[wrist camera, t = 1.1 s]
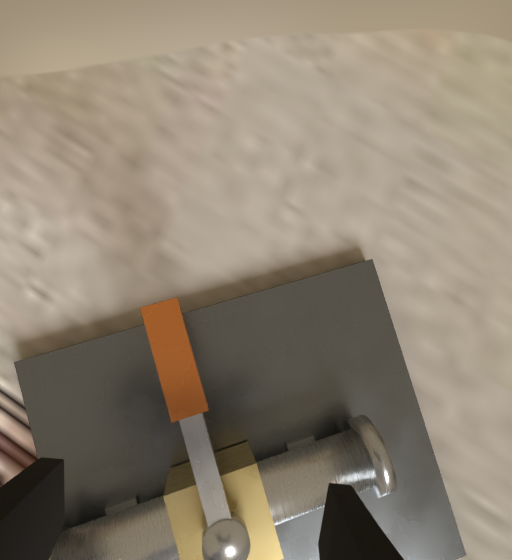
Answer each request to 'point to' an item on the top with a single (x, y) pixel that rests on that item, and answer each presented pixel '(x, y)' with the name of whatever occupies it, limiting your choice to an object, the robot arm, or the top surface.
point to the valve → (244, 428)
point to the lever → (194, 428)
